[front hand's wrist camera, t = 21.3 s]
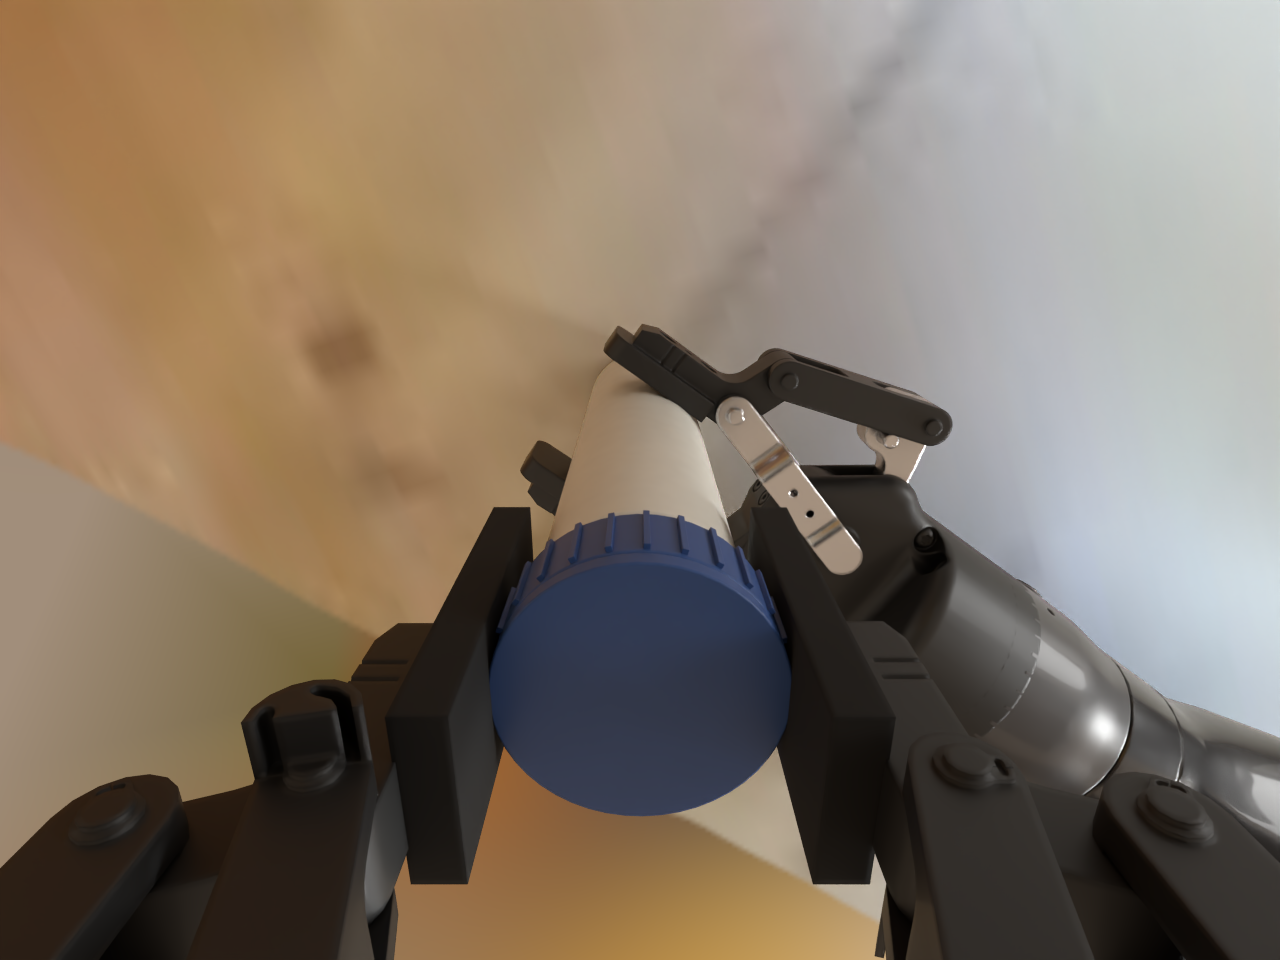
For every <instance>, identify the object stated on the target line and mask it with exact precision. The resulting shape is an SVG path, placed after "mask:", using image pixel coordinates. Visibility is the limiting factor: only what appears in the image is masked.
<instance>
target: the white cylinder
mask: <svg viewBox="0 0 1280 960" xmlns="http://www.w3.org/2000/svg"><path fill="white" fill-rule="evenodd" d="M643 510H649V511H650V514H654V515H661V516H667V517H673V518H677V517H678V515H681V516H684V518H685V521H687V522H691V523H693V524H696V525H698V526H700V527H703V528H705V529H707V530H709V529H710V527H712V528H714V529H716V532H717V535H718V536H719V537H721V538H723V539H724V540H725V541H727V542H728V543H729V544H730V545H732V546H733V547H734V548H735V546H734V543H733V539H732V536H731V532H730V529H729V526H728V522H727V519H726V516H725V512H724V509H723V505H722V502H721V499H720V495H719V492H718V488H717V485H716V482H715V478H714V475H713V472H712V468H711V465H710V461H709V458H708V455H707V451H706V448H705V445H704V441H703V438H702V434H701V431H700V428H699V424H698V421H697V419H696V418H694V417H693V416H692V415H690V414H689V413H687V412H686V411H685V410H683V409H682V408H681V407H680V406H678V405H677V404H675V403H673V402H672V401H670V400H669V399H668V398H666V397H665V396H663V395H662V394H660V393H659V392H658V391H656V390H655V389H653V388H652V387H651V386H649V385H648V384H646V383H645V382H643V381H642V380H641V379H639V378H638V377H636V376H635V375H634V374H632V373H631V372H629V371H628V370H626V369H625V368H624V367H622V366H621V365H619V364H618V363H617V362H615V361H613V362H611V363H610V364H609V365H607V366H606V367H605V368H604V369H603V370H602V372H601V373H600V374H599V376H598V378H597V379H596V381H595V384H594V386H593V389H592V393H591V396H590V400H589V403H588V406H587V410H586V413H585V417H584V420H583V423H582V427H581V430H580V433H579V437H578V440H577V444H576V447H575V450H574V454H573V457H572V461H571V464H570V467H569V471H568V474H567V478H566V481H565V484H564V488H563V491H562V494H561V498H560V501H559V505H558V508H557V511H556V515H555V518H554V522H553V525H552V528H551V532H550V535H549V539H548V541H549V540H550V539H552V540H553V541H556V540H557V539H559V538H560V537H562V536H563V535H565V534H566V533H568V532H570V531H572V530H574V528H575V524H577V523H579V522H581V523H582V525H585V524H588V523H591V522H594V521H597V520H600V519H603V518H608V513H613V512H614V513H615V516H618V515H629V514H643Z"/></svg>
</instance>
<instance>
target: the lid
mask: <svg viewBox="0 0 1280 960" xmlns="http://www.w3.org/2000/svg"><path fill="white" fill-rule="evenodd" d="M496 633H499V634H500V636H499V639H498V642H497V645H496V648H495V650H494V654H493V657H492V661H491V664H490V669H489V681H490V694H491V705H492V715H493V723H494V725H495V728H496V731H497V734H498V736H499V737H500V739H501V741H502V743H503V745H504V747H505V749H506V750H507V751H508V753H509V754H510V755H511V757H512V758H513V759H514V761H515V762H516V763H517V764H518V765H519V766H520V767H521V769H523V771H524V772H525V773H526V774H527V775H529V776H530V777H531V778H532V779H533V780H535V781H536V782H537V783H538V784H540V785H541V786H542V787H544V788H546V789H547V790H549V791H550V792H552V793H554V794H555V795H557V796H559V797H561V798H563V799H565V800H567V801H569V802H571V803H574V804H577V805H580V806H582V807H585V808H588V809H592V810H596V811H600V812H604V813H610V814H617V815H625V816H654V815H665V814H671V813H676V812H681V811H685V810H689V809H692V808H696V807H699V806H701V805H704V804H706V803H709V802H711V801H714V800H716V799H718V798H720V797H722V796H724V795H725V794H727V793H729V792H731V791H732V790H734V789H735V788H737V787H738V786H740V785H741V784H743V783H744V782H745V781H746V780H748V779H749V778H750V777H751V776H752V775H753V774H754V773H756V772H757V771H758V770H759V768H760V767H761V766H762V765H763V764H764V763H765V762H766V761H767V759H768V758H769V757H770V755H771V754H772V752H773V751H774V749H775V748H776V746H777V745H778V743H779V741H780V739H781V737H782V735H783V733H784V731H785V729H786V725H787V721H788V712H789V701H790V690H791V678H792V671H791V665H790V661H789V658H788V655H787V652H786V649H785V646H784V644H785V643H787V635H786V632H785V629H784V627H783V624H782V621H781V618H780V615H779V613H778V610H777V607H776V604H775V601H774V599H773V596H771V597H770V595H769V592H768V589H767V586H766V583H765V581H764V578H763V575H762V573H761V571H760V570H759V569H758V570H756V571H755V570H754V569H753V568H752V566H751V565H750V563H749V562H748V561H747V560H746V559H745V556H744V553H743V550H742V548H741V547H739V546H737V547H736V548H734V547H733V546H732V545H730V544H729V543H728V542H727V541H725V540H724V539H723V538H721V537H719V536H718V535H717V532H716V529H714V528H712V527H710V529H709V530H707V529H705V528H703V527H700V526H698V525H696V524H693V523H691V522H687V521H685V518H684V516H681V515H678V517H677V518H673V517H667V516H661V515H654V514H650V511H649V510H643V514H629V515H618V516H615V513H614V512H613V513H608V518H603V519H600V520H597V521H594V522H591V523H588V524H585V525H582V523H581V522H579V523H577V524H575V528H574V530H572V531H570V532H568V533H566V534H565V535H563V536H562V537H560V538H559V539H557V540H556V541H553V540H552V539H550V540H549V541H547V543H546V546H545V550H543V551H542V552H541V553H540V554H539V555H538V556H537V558H536V559H535V560H534V561H533V562H532V563H531V562H529V561H527V562H526V564H525V565H524V568H523V571H522V574H521V577H520V580H519V583H518V586H517V588H514V587H511V590H510V592H509V595H508V598H507V601H506V604H505V606H504V609H503V612H502V615H501V618H500V620H499V623H498V626H497V629H496Z"/></svg>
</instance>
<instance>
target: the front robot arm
mask: <svg viewBox="0 0 1280 960" xmlns="http://www.w3.org/2000/svg"><path fill="white" fill-rule="evenodd" d="M527 561H529V562H531V563H532V562H533V548H532V531H531V514H530V507H494V508H493V510H492V512H491V514H490V516H489V518H488V520H487V522H486V524H485V525H484V527H483V529H482V531H481V533H480V535H479V537H478V539H477V541H476V543H475V545H474V547H473V549H472V550H471V552H470V554H469V556H468V558H467V560H466V562H465V564H464V566H463V568H462V570H461V572H460V573H459V575H458V577H457V579H456V581H455V583H454V585H453V587H452V589H451V591H450V593H449V595H448V596H447V598H446V600H445V602H444V604H443V606H442V608H441V610H440V612H439V614H438V616H437V618H436V620H435V621H434V623H398V624H396V625H395V626H394V627H392V628H391V629H390V630H388V631H387V632H386V633H384V634H383V635H382V636H380V637H379V638H378V639H376V640H375V641H374V643H373V644H372V646H371V647H370V649H369V651H368V652H367V654H366V655H365V657H364V658H363V660H362V664H360V665H359V666H358V668H357V669H356V671H355V672H354V674H353V675H352V679H351V681H349V682H348V683H346V682H343V681H339V680H335V679H333V680H312V681H308V682H303V683H299V684H295V685H291V686H289V687H287V688H284V689H282V690H280V691H278V692H275V693H273V694H271V695H269V696H268V697H266V698H265V699H264V700H262V701H261V702H260V703H258V704H257V705H256V706H254V707H253V708H252V709H251V710H250V711H249V713H248V714H247V715H246V717H245V718H244V719H243V721H242V722H241V725H242V729H243V733H244V737H245V741H246V745H247V749H248V753H249V757H250V761H251V765H252V770H253V774H254V778H255V780H254V783H253V784H252V785H249V786H246V787H243V788H239V789H236V790H232V791H228V792H224V793H220V794H215V795H211V796H207V797H202V798H198V799H194V800H190V801H186V802H182V799H181V796H180V792H179V789H178V786H176V785H175V784H174V783H173V782H172V781H171V780H170V779H169V778H167V777H162V776H156V775H151V774H148V775H140V776H132V777H125V778H123V779H119V780H117V781H114V782H111V783H108V784H105V785H102V786H99V787H97V788H95V789H93V790H91V791H90V792H88V793H86V794H84V795H82V796H80V797H79V798H77V799H75V800H73V801H72V802H70V803H69V804H68V805H67V806H65V807H64V808H63V809H62V810H60V811H59V812H58V813H57V814H55V815H54V816H53V817H52V818H50V819H49V820H48V821H47V822H46V823H45V824H44V825H43V826H42V827H41V828H40V829H39V830H38V831H37V832H36V833H35V834H34V835H33V836H32V837H31V838H30V839H29V840H28V841H27V842H26V843H25V844H24V845H23V846H22V847H21V848H20V849H19V850H18V851H17V852H16V853H15V854H14V855H13V856H12V857H11V858H10V859H9V860H8V861H7V862H6V863H5V864H4V865H3V866H2V867H1V868H0V960H394V952H395V942H396V932H397V922H398V909H397V902H396V895H395V889H394V886H395V884H396V881H397V878H398V876H399V873H400V870H401V867H402V865H403V862H404V860H405V857H406V856H407V863H408V869H409V875H410V881H411V884H468V881H469V877H470V873H471V870H472V866H473V862H474V858H475V854H476V850H477V847H478V843H479V839H480V835H481V831H482V828H483V824H484V820H485V816H486V812H487V808H488V805H489V801H490V797H491V793H492V789H493V786H494V782H495V778H496V774H497V770H498V766H499V763H500V759H501V755H502V751H503V747H504V745H503V743H502V741H501V739H500V737H499V736H498V734H497V731H496V728H495V725H494V723H493V715H492V705H491V694H490V681H489V669H490V664H491V661H492V657H493V654H494V650H495V648H496V645H497V642H498V639H499V636H500V634H499V633H496V629H497V626H498V623H499V620H500V618H501V615H502V612H503V609H504V606H505V604H506V601H507V598H508V595H509V592H510V590H511V587H514V588H517V586H518V583H519V580H520V577H521V574H522V571H523V568H524V565H525V564H526V562H527ZM747 561H748V562H749V563H750V565H751V566H752V568H753V569H754V570H755V571H756V570H758V569H759V570H760V571H761V573H762V575H763V578H764V581H765V583H766V586H767V589H768V592H769V595H770V597H771V596H773V599H774V601H775V604H776V607H777V610H778V613H779V615H780V618H781V621H782V624H783V627H784V629H785V632H786V635H787V643H785V644H784V646H785V649H786V652H787V655H788V658H789V661H790V665H791V671H792V678H791V690H790V701H789V712H788V721H787V725H786V729H785V731H784V733H783V735H782V737H781V739H780V741H779V743H778V745H777V749H778V752H779V756H780V760H781V764H782V768H783V772H784V775H785V779H786V783H787V787H788V791H789V794H790V798H791V802H792V806H793V810H794V813H795V817H796V821H797V825H798V829H799V833H800V836H801V840H802V844H803V848H804V852H805V855H806V859H807V863H808V867H809V871H810V874H811V878H812V882H813V884H870V880H871V873H872V867H873V861H874V854H876V857H877V860H878V862H879V865H880V868H881V870H882V873H883V876H884V878H885V881H886V889H885V895H884V901H883V907H882V913H881V919H880V925H879V931H878V937H877V943H876V951H875V956H877V957H881V958H884V954H885V951H886V960H1280V863H1279V862H1278V861H1277V860H1276V859H1275V858H1274V857H1273V856H1272V855H1271V854H1270V853H1269V852H1268V851H1267V850H1266V849H1265V848H1264V847H1263V846H1262V845H1261V844H1260V843H1259V842H1258V841H1257V840H1256V839H1255V838H1254V837H1253V836H1252V835H1251V834H1250V833H1249V832H1248V831H1247V830H1246V829H1245V828H1244V827H1243V826H1242V825H1241V824H1240V823H1239V822H1238V821H1237V820H1236V819H1235V818H1234V817H1233V816H1232V815H1230V814H1229V813H1228V812H1227V811H1225V810H1224V809H1223V808H1222V807H1220V806H1219V805H1218V804H1216V803H1215V802H1214V801H1213V800H1211V799H1210V798H1209V797H1207V796H1205V795H1203V794H1201V793H1199V792H1198V791H1196V790H1194V789H1192V788H1190V787H1188V786H1186V785H1185V784H1183V783H1180V782H1177V781H1174V780H1171V779H1168V778H1165V777H1162V776H1159V775H1155V774H1147V773H1140V772H1127V773H1121V774H1116V775H1113V776H1112V777H1111V778H1110V779H1109V780H1108V781H1107V782H1105V783H1104V785H1103V789H1102V792H1101V795H1100V799H1095V798H1090V797H1086V796H1082V795H1077V794H1073V793H1069V792H1065V791H1060V790H1056V789H1052V788H1048V787H1044V786H1041V785H1038V784H1034V783H1031V782H1028V781H1026V779H1025V777H1024V776H1023V774H1022V773H1021V771H1020V770H1019V768H1018V767H1017V765H1016V763H1015V762H1014V761H1012V760H1011V759H1010V758H1009V757H1008V756H1006V755H1005V754H1004V753H1003V752H1001V751H1000V750H999V749H998V748H996V747H994V746H992V745H990V744H988V743H986V742H984V741H982V740H980V739H978V738H975V737H971V736H969V735H968V733H967V732H966V730H965V729H964V727H963V726H962V724H961V722H960V721H959V719H958V718H957V716H956V715H955V713H954V712H953V710H952V709H951V707H950V705H949V704H948V702H947V701H946V699H945V698H944V696H943V695H942V693H941V691H940V690H939V688H938V687H937V685H936V684H935V682H934V681H933V679H930V674H929V673H928V671H927V670H926V668H925V667H924V665H923V664H922V662H919V657H918V656H917V654H916V653H915V651H914V650H913V648H912V647H911V645H910V643H909V642H908V640H907V639H906V638H905V637H904V636H902V635H901V634H900V633H898V632H897V631H896V630H894V629H893V628H891V627H890V626H889V625H887V624H886V623H885V622H883V621H846V620H845V618H844V616H843V614H842V612H841V610H840V609H839V607H838V605H837V603H836V601H835V599H834V597H833V595H832V593H831V591H830V589H829V587H828V586H827V584H826V582H825V580H824V578H823V576H822V574H821V572H820V570H819V568H818V566H817V564H816V562H815V561H814V559H813V557H812V555H811V553H810V551H809V549H808V547H807V545H806V543H805V541H804V539H803V538H802V536H801V534H800V532H799V530H798V528H797V526H796V524H795V522H794V520H793V518H792V516H791V515H790V513H789V511H788V509H787V507H751V509H750V525H749V542H748V559H747Z"/></svg>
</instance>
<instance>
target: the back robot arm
mask: <svg viewBox="0 0 1280 960" xmlns="http://www.w3.org/2000/svg"><path fill="white" fill-rule="evenodd" d="M604 352H605V353H606V354H607V355H608V356H609V357H610V358H611V359H613V360H614V361H615V362H617V363H618V364H619V365H621V366H622V367H624V368H625V369H626V370H628V371H629V372H631V373H632V374H634V375H635V376H636V377H638V378H639V379H641V380H642V381H643V382H645V383H646V384H648V385H649V386H651V387H652V388H653V389H655V390H656V391H658V392H659V393H660V394H662V395H663V396H665V397H666V398H668V399H669V400H670V401H672V402H673V403H675V404H677V405H678V406H680V407H681V408H682V409H683V410H685V411H686V412H687V413H689V414H690V415H692V416H693V417H694V418H696V419H697V420H699V421H700V422H702V421H703V420H704V419H705V417H706V416H707V417H708V418H709V419H711V420H712V421H714V422H715V423H716V424H718V426H719V428H720V429H721V430H722V432H723V433H724V434H725V435H726V437H727V438H728V439H729V441H730V442H731V443H732V444H733V446H734V447H735V448H736V449H737V451H738V452H739V453H740V454H741V456H742V457H743V458H744V460H745V461H746V462H747V463H748V465H749V466H750V467H751V469H752V470H753V472H754V473H755V475H756V476H757V478H758V479H757V480H756V482H755V483H754V484H753V485H752V486H751V488H750V490H749V492H748V494H747V496H746V498H745V500H744V503H743V505H742V507H741V508H740V509H739V510H738V511H736V512H735V513H734V514H732V515H731V516H729V517H728V518H727V522H728V526H729V529H730V532H731V536H732V539H733V543H734V546H735V548H736V547H737V546H739V547H741V548H742V550H743V553H744V556H745V559H746V560H747V559H748V542H749V525H750V509H751V507H787V509H788V511H789V513H790V515H791V516H792V518H793V520H794V522H795V524H796V526H797V528H798V530H799V532H800V534H801V536H802V538H803V539H804V541H805V543H806V545H807V547H808V549H809V551H810V553H811V555H812V557H813V559H814V561H815V562H816V564H817V566H818V568H819V570H820V572H821V574H822V576H823V578H824V580H825V582H826V584H827V586H828V587H829V589H830V591H831V593H832V595H833V597H834V599H835V601H836V603H837V605H838V607H839V609H840V610H841V612H842V614H843V616H844V618H845V620H846V621H883V622H885V623H886V624H887V625H889V626H890V627H891V628H893V629H894V630H896V631H897V632H898V633H900V634H901V635H902V636H904V637H905V638H906V639H907V640H908V642H909V643H910V645H911V647H912V648H913V650H914V651H915V653H916V654H917V656H918V657H919V662H922V664H923V665H924V667H925V668H926V670H927V671H928V673H929V674H930V679H933V681H934V682H935V684H936V685H937V687H938V688H939V690H940V691H941V693H942V695H943V696H944V698H945V699H946V701H947V702H948V704H949V705H950V707H951V709H952V710H953V712H954V713H955V715H956V716H957V718H958V719H959V721H960V722H961V724H962V726H963V727H964V729H965V730H966V732H967V733H968V735H969V736H971V737H975V738H978V739H980V740H982V741H984V742H986V743H988V744H990V745H992V746H994V747H996V748H998V749H999V750H1000V751H1001V752H1003V753H1004V754H1005V755H1006V756H1008V757H1009V758H1010V759H1011V760H1012V761H1014V762H1015V763H1016V765H1017V767H1018V768H1019V770H1020V771H1021V773H1022V774H1023V776H1024V777H1025V779H1026V781H1028V782H1031V783H1034V784H1038V785H1041V786H1044V787H1048V788H1052V789H1056V790H1060V791H1065V792H1069V793H1073V794H1077V795H1082V796H1086V797H1090V798H1095V799H1100V795H1101V792H1102V789H1103V785H1104V783H1105V782H1107V781H1108V780H1109V779H1110V778H1111V777H1112V776H1113V775H1116V774H1121V773H1127V772H1140V773H1147V774H1155V775H1159V776H1162V777H1165V778H1168V779H1171V780H1174V781H1177V782H1180V783H1183V784H1185V785H1186V786H1188V787H1190V788H1192V789H1194V790H1196V791H1198V792H1199V793H1201V794H1203V795H1205V796H1207V797H1209V798H1210V799H1211V800H1213V801H1214V802H1215V803H1216V804H1218V805H1219V806H1220V807H1222V808H1223V809H1224V810H1225V811H1227V812H1228V813H1229V814H1230V815H1232V816H1233V817H1234V818H1235V819H1236V820H1237V821H1238V822H1239V823H1240V824H1241V825H1242V826H1243V827H1244V828H1245V829H1246V830H1247V831H1248V832H1249V833H1250V834H1251V835H1252V836H1253V837H1254V838H1255V839H1256V840H1257V841H1258V842H1259V843H1260V844H1261V845H1262V846H1263V847H1264V848H1265V849H1266V850H1267V851H1268V852H1269V853H1270V854H1271V855H1272V856H1273V857H1274V858H1275V859H1276V860H1277V861H1278V862H1279V863H1280V738H1279V737H1276V736H1274V735H1271V734H1269V733H1266V732H1263V731H1261V730H1258V729H1256V728H1253V727H1250V726H1247V725H1245V724H1242V723H1239V722H1237V721H1234V720H1231V719H1229V718H1226V717H1223V716H1221V715H1218V714H1215V713H1213V712H1210V711H1207V710H1205V709H1202V708H1199V707H1195V706H1192V705H1189V704H1185V703H1181V702H1178V701H1175V700H1171V699H1168V698H1166V697H1164V696H1163V695H1162V694H1160V693H1159V692H1158V691H1156V690H1155V689H1154V688H1153V687H1151V686H1150V685H1149V684H1147V683H1146V682H1145V681H1143V680H1142V679H1141V678H1139V677H1138V676H1136V675H1135V674H1134V673H1132V672H1131V671H1130V670H1128V669H1127V668H1125V667H1124V666H1123V665H1121V664H1120V663H1119V662H1117V661H1116V660H1114V659H1113V658H1112V657H1110V656H1109V655H1108V654H1106V653H1105V652H1103V651H1102V650H1101V649H1100V648H1099V647H1097V646H1096V645H1095V644H1094V643H1093V642H1092V641H1091V640H1090V638H1089V637H1088V636H1087V635H1086V634H1085V633H1084V632H1083V631H1082V630H1081V629H1080V628H1079V627H1078V626H1076V625H1075V624H1074V623H1073V622H1072V621H1071V620H1070V619H1069V618H1068V617H1066V616H1065V615H1064V614H1063V613H1061V612H1060V611H1059V610H1057V609H1056V608H1055V607H1053V606H1052V605H1050V604H1049V603H1048V602H1047V601H1045V600H1044V599H1043V598H1042V596H1041V595H1040V594H1039V593H1038V592H1037V591H1036V590H1035V589H1034V588H1032V587H1031V586H1029V585H1028V584H1026V583H1024V582H1022V581H1021V580H1018V579H1015V578H1014V577H1012V576H1011V575H1010V574H1008V573H1007V572H1006V571H1004V570H1003V569H1002V568H1000V567H999V566H997V565H996V564H995V563H993V562H992V561H991V560H989V559H988V558H986V557H985V556H984V555H982V554H981V553H980V552H978V551H977V550H975V549H974V548H973V547H971V546H970V545H969V544H967V543H966V542H965V541H963V540H962V539H960V538H959V537H958V536H956V535H955V534H954V533H952V532H951V531H950V530H948V529H947V528H945V527H944V526H943V525H941V524H940V523H939V522H937V521H936V520H935V519H933V518H932V517H930V516H929V515H928V514H926V513H925V512H924V511H923V510H922V508H921V506H920V504H919V502H918V499H917V496H916V493H915V491H914V490H913V488H912V487H911V486H910V485H909V484H908V482H909V480H910V478H911V476H912V474H913V472H914V470H915V468H916V466H917V464H918V462H919V459H920V457H921V455H922V453H923V451H924V449H925V447H926V446H934V445H937V444H940V443H941V442H943V441H944V440H945V439H946V438H947V437H948V436H949V435H950V433H951V430H952V419H951V417H950V415H949V414H948V413H947V412H946V411H944V410H943V409H941V408H939V407H938V406H936V405H934V404H933V403H931V402H929V401H928V400H926V399H924V398H923V397H921V396H919V395H918V394H916V393H914V392H912V391H909V390H906V389H903V388H900V387H897V386H893V385H890V384H887V383H884V382H881V381H878V380H875V379H872V378H869V377H866V376H863V375H860V374H856V373H853V372H850V371H847V370H844V369H841V368H838V367H835V366H832V365H829V364H826V363H823V362H819V361H816V360H813V359H810V358H807V357H804V356H801V355H798V354H795V353H792V352H789V351H786V350H783V349H779V348H773V349H769V350H767V351H765V352H764V353H763V354H762V355H761V356H760V357H759V359H758V361H757V362H755V363H754V364H752V365H751V366H749V367H748V368H746V369H744V370H743V371H741V372H739V373H736V374H724V373H721V372H718V371H717V370H715V369H714V368H713V367H711V366H710V365H708V364H707V363H706V362H704V361H703V360H702V359H700V358H699V357H697V356H696V355H695V354H693V353H692V352H691V351H689V350H688V349H687V348H685V347H684V346H682V345H681V344H680V343H678V342H677V341H676V340H674V339H673V338H671V337H670V336H669V335H667V334H666V333H665V332H663V331H662V330H660V329H659V328H657V327H653V326H649V325H645V324H642V325H641V326H640V327H639V329H638V330H637V332H636V333H635V334H634V335H632V334H631V333H630V332H628V331H627V330H625V329H624V328H622V327H620V326H617V328H616V329H615V331H614V332H613V333H612V335H611V336H610V338H609V339H608V341H607V342H606V344H605V347H604ZM784 401H786V402H790V403H793V404H796V405H799V406H802V407H805V408H809V409H812V410H815V411H818V412H821V413H824V414H828V415H831V416H834V417H837V418H840V419H843V420H846V421H850V422H853V423H856V424H857V434H858V436H859V438H860V439H861V440H862V441H863V442H864V443H865V444H866V445H867V446H868V447H869V448H870V449H872V450H873V451H875V453H876V463H875V465H800V464H799V463H798V461H797V460H796V459H795V457H794V456H793V455H792V453H791V452H790V451H789V449H788V448H787V447H786V446H785V444H784V443H783V442H782V440H781V439H780V438H779V436H778V435H777V434H776V432H775V431H774V430H773V429H772V427H771V426H770V425H769V424H768V422H767V421H766V420H765V418H764V417H763V416H762V415H763V414H765V413H766V412H768V411H770V410H771V409H773V408H774V407H776V406H777V405H779V404H781V403H782V402H784ZM571 461H572V459H571V458H570V457H568V456H567V455H565V454H563V453H562V452H560V451H559V450H557V449H556V448H554V447H553V446H551V445H550V444H548V443H546V442H543V441H537V443H536V444H535V446H534V447H533V448H532V450H531V451H530V453H529V454H528V456H527V457H526V459H525V461H524V463H523V465H522V467H521V470H520V471H521V473H522V475H523V476H524V477H525V478H526V479H527V480H528V481H530V482H531V485H530V487H529V490H528V493H529V494H530V496H531V497H532V498H533V500H534V501H535V502H536V504H537V505H539V506H540V507H542V508H543V509H545V510H547V511H548V512H550V513H552V514H553V515H554V516H555V515H556V511H557V508H558V505H559V501H560V498H561V494H562V491H563V488H564V484H565V481H566V478H567V474H568V471H569V467H570V464H571Z"/></svg>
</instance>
